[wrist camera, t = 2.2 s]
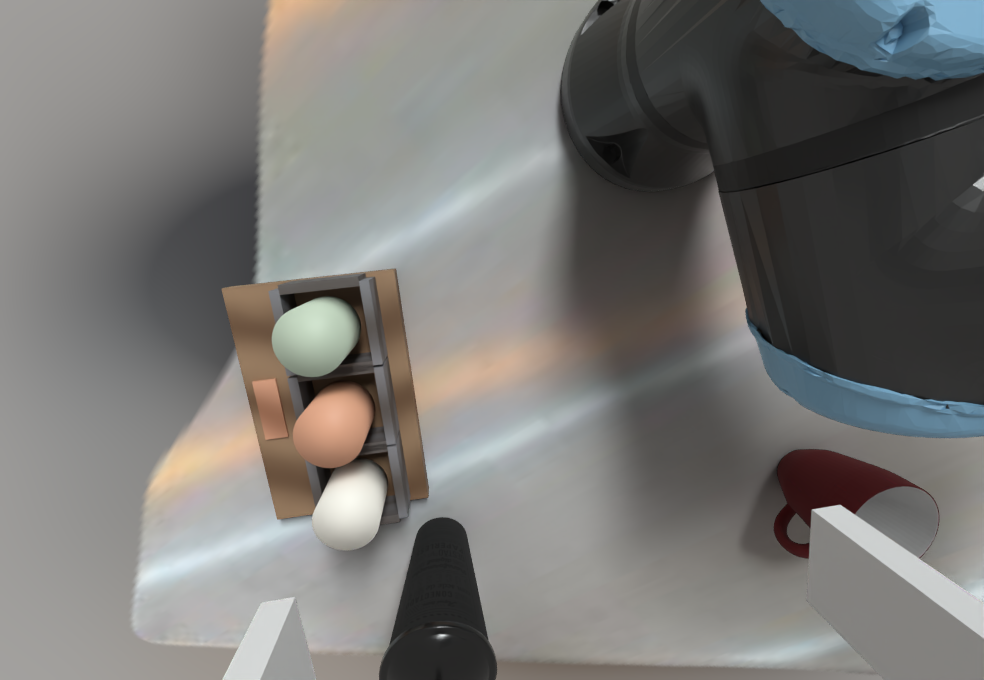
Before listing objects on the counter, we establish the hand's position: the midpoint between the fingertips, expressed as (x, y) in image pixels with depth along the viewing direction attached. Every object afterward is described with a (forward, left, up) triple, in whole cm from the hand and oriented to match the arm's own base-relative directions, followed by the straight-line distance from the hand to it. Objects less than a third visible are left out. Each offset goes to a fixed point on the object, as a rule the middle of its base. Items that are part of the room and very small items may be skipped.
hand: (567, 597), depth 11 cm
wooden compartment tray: (+3, -13, -29) cm, 31 cm away
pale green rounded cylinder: (-3, -11, -25) cm, 27 cm away
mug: (+18, +29, -29) cm, 44 cm away
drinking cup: (+19, -6, -29) cm, 35 cm away
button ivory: (+10, -11, -25) cm, 29 cm away
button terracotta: (+3, -11, -25) cm, 27 cm away
